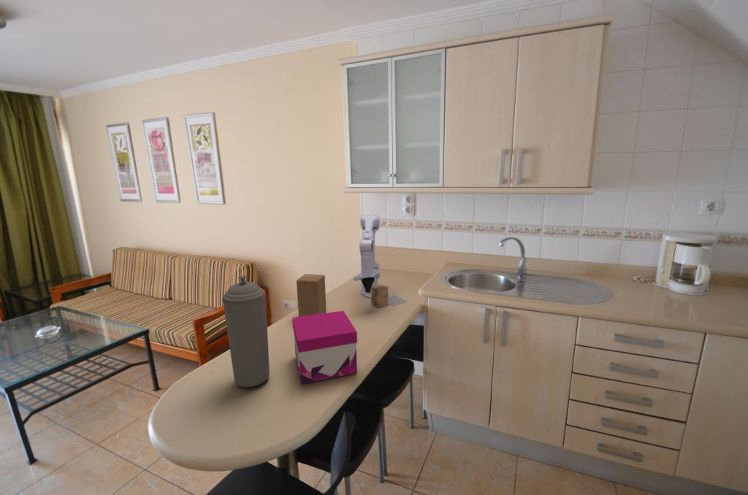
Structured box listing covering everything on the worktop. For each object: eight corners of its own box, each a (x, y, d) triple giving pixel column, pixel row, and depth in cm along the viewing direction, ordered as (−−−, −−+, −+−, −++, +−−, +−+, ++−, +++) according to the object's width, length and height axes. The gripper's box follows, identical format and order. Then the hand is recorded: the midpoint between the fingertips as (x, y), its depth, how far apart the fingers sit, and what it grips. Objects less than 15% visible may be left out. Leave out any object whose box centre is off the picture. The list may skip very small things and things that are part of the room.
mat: (378, 300, 180) (378, 299, 179) (394, 295, 186) (394, 295, 186) (393, 307, 170) (393, 306, 170) (409, 302, 177) (409, 301, 177)
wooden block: (319, 323, 152) (317, 281, 148) (298, 322, 154) (295, 280, 150) (326, 314, 162) (325, 274, 158) (307, 313, 164) (304, 273, 160)
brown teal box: (371, 305, 173) (371, 286, 171) (380, 302, 177) (380, 284, 175) (378, 308, 168) (378, 289, 166) (388, 305, 172) (387, 287, 170)
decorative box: (344, 347, 131) (343, 310, 128) (358, 373, 114) (356, 331, 110) (294, 355, 125) (292, 317, 122) (300, 384, 108) (297, 341, 105)
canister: (237, 395, 103) (225, 285, 95) (227, 376, 113) (215, 275, 106) (278, 380, 110) (269, 276, 103) (265, 363, 120) (256, 268, 113)
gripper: (359, 269, 152) (360, 298, 154) (384, 263, 160) (384, 291, 163) (350, 266, 157) (351, 293, 160) (375, 261, 166) (375, 287, 169)
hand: (367, 292), depth 162 cm, fingers closed
